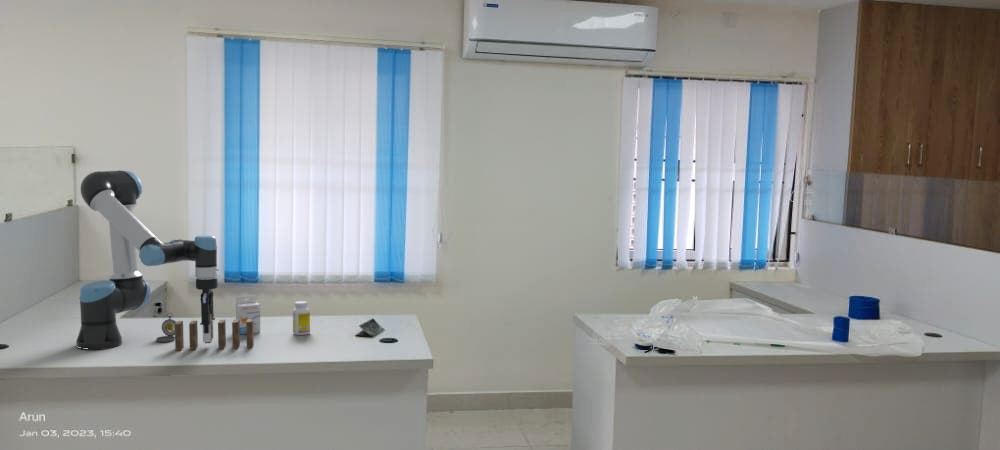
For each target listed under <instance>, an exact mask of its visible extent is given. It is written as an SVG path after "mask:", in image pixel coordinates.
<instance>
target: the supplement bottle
mask: <svg viewBox="0 0 1000 450" xmlns="http://www.w3.org/2000/svg"><path fill="white" fill-rule="evenodd" d="M307 306H308V301H303V300H301V301H295V302H294V308H293V309H292V333H293V335H296V336H306V335H309V334H310V333H311V321H310V320H311V315H310V314H311V310H310V308H308V307H307Z"/></svg>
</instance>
